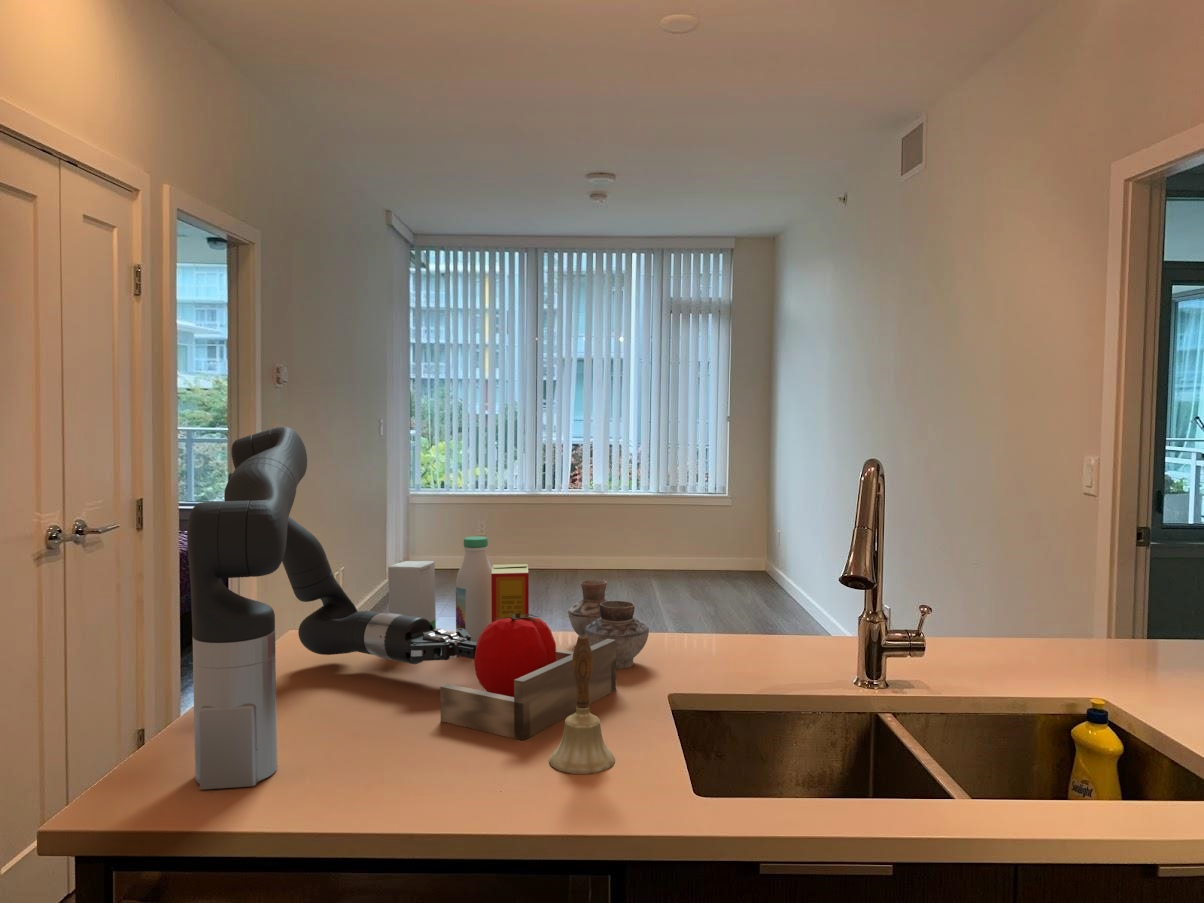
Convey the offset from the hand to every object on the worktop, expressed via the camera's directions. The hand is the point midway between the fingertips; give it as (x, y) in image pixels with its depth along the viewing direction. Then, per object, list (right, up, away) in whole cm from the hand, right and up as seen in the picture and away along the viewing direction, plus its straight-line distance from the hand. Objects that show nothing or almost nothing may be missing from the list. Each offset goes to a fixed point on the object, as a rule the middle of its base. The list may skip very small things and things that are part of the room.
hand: (481, 651), depth 136 cm
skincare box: (-17, -6, +29) cm, 34 cm away
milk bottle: (-5, -6, +32) cm, 33 cm away
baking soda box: (+2, -6, +23) cm, 24 cm away
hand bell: (+16, -8, -26) cm, 32 cm away
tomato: (+6, -7, -2) cm, 9 cm away
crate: (+8, -7, -4) cm, 11 cm away
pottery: (+19, -6, +23) cm, 31 cm away
